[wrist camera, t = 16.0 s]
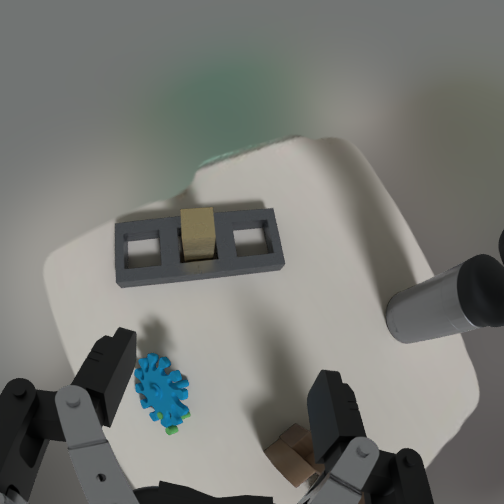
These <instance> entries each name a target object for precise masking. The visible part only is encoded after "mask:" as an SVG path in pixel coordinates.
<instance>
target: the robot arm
mask: <svg viewBox="0 0 504 504" xmlns="http://www.w3.org/2000/svg"><path fill="white" fill-rule="evenodd" d="M499 252H500V256H501V259H502V262H503V264H504V230H503V232H502V234H501V236H500V239H499ZM386 320H387V325H388V328H389V330H390V332H391V334H392V335H393V336H394V338H396V339H397V340H398V341H400V342H402V343H406V344H407V343H415V342H420V341H425V340H430V339H435V338H440V337H444V336H449V335H453V334H458V333H462V332H466V331H470V330H473V329H477V328H481V327H486V326H491V327H500V326H504V267H503V266H502V265H501V264H500V263H499V262H498V261H497V260H496V259H495V258H493V257H491V256H489V255H486V254H481V255H477V256H474V257H472V258H470V259H468V260H467V261H465V262H463V263H461V264H459V265H457V266H455V267H453V268H451V269H449V270H447V271H445V272H443V273H441V274H439V275H437V276H435V277H432V278H430V279H428V280H426V281H424V282H422V283H420V284H417V285H415V286H413V287H411V288H408V289H406V290H404V291H402V292H399V293H397V294H396V295H395V296H393V297H392V299H391V300H390V302H389V304H388V307H387V311H386ZM135 363H136V332H135V331H131V330H128V329H125V328H121V327H119V328H118V329H117V331H116V332H115V334H114V336H113V337H110V336H106V335H105V336H103V337H102V338H101V339H99V340H98V341H96V343H95V344H94V346H93V348H92V349H91V352H90V353H89V354H88V356H87V359H85V361H84V363H83V364H82V366H81V368H80V370H79V371H78V373H77V375H76V377H75V378H74V380H73V382H72V383H71V385H69V386H65V387H63V388H61V389H60V390H59V391H56V392H52V391H43V390H36V389H35V387H34V385H33V384H32V383H31V382H30V381H29V380H27V379H23V378H16V379H13V380H11V381H10V382H8V383H7V385H6V386H5V388H4V390H3V391H2V393H1V395H0V504H29V503H28V500H29V497H30V494H31V491H32V488H33V485H34V482H35V479H36V476H37V473H38V470H39V467H40V465H41V462H42V459H43V456H44V453H45V451H46V448H47V446H48V443H49V441H50V440H55V441H63V442H67V445H68V452H69V455H70V458H71V461H72V463H73V466H74V469H75V472H76V473H77V477H78V479H79V482H80V484H81V487H82V489H83V491H84V494H85V496H86V498H87V501H88V503H89V504H274V503H273V497H264V496H251V495H242V496H233V497H222V498H216V497H212V496H210V495H207V494H204V493H202V492H199V491H197V490H194V489H192V488H190V487H186V486H181V485H177V484H172V483H168V482H163V481H160V482H159V486H150V487H142V488H138V489H135V490H132V489H131V487H130V485H129V484H128V482H127V480H126V478H125V476H124V474H123V472H122V470H121V468H120V466H119V463H118V461H117V459H116V457H115V455H114V453H113V450H112V448H111V446H110V444H109V442H108V440H107V439H106V437H105V435H104V433H103V430H102V426H103V425H104V426H107V427H109V428H110V427H111V425H112V422H113V419H114V417H115V414H116V412H117V409H118V407H119V404H120V402H121V399H122V397H123V394H124V392H125V389H126V387H127V384H128V382H129V380H130V377H131V375H132V373H133V370H134V367H135ZM356 402H357V401H356V398H355V394H354V392H353V390H352V389H351V388H350V387H349V385H348V384H346V383H342V379H341V375H340V373H339V372H338V371H330V370H321V371H320V373H319V375H318V376H317V378H316V380H315V382H314V384H313V386H312V387H311V389H310V391H309V393H308V397H307V407H308V414H309V421H310V428H311V436H312V443H313V450H314V458H315V464H324V466H325V469H324V470H323V472H322V473H321V474H320V476H319V477H318V478H317V480H316V481H315V482H314V484H313V485H312V486H311V487H310V489H309V490H308V491H307V493H306V494H305V495H304V496H303V498H302V499H301V500H300V501H299V502H298V503H297V504H358V503H359V501H360V499H361V497H362V494H363V493H362V492H364V500H365V504H434V502H433V499H432V494H431V490H430V486H429V483H428V479H427V475H426V472H425V468H424V465H423V461H422V458H421V456H420V455H419V454H418V453H417V452H416V451H415V450H413V449H409V448H404V449H401V450H400V451H399V452H398V453H397V454H394V453H390V452H386V451H382V450H379V449H378V446H377V445H376V443H375V442H374V441H372V440H371V439H369V438H367V436H366V433H365V429H364V426H363V422H362V419H361V415H360V412H359V411H358V409H359V408H358V405H357V403H356Z"/></svg>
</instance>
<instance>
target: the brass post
mask: <svg viewBox="0 0 504 504" xmlns="http://www.w3.org/2000/svg"><path fill="white" fill-rule="evenodd" d="M180 211H181V231H182V243H183V251H184V258H185V263H188V262H198V261H207V260H213V254H214V246H215V238H216V235H215V226H214V216H213V207H207V208H192V209H180Z"/></svg>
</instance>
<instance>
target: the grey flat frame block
mask: <svg viewBox="0 0 504 504" xmlns="http://www.w3.org/2000/svg"><path fill="white" fill-rule="evenodd" d="M213 216H214V226H215V235H216V238H215V251H216V258H217V259H216V260H207V261H198V262H188V263H181V261H180V251H179V240H178V236H182V231H181V216H178V217H168V218H159V219H150V220H141V221H132V222H124V223H116V224H115V268H116V283H117V284H118V285H119V286H120V287H121V288H126V287H136V286H146V285H155V284H165V283H174V282H183V281H192V280H201V279H210V278H219V277H227V276H236V275H244V274H253V273H261V272H269V271H277V270H281V268H282V267H283V266H284V265H285V260H284V256H283V251H282V246H281V242H280V237H279V232H278V228H277V223H276V219H275V214H274V210H273V208H270V209H256V210H243V211H231V212H220V213H213ZM255 228H264V233H265V238H266V243H267V248H268V253H269V254H262V255H253V256H244V257H237V253H236V247H235V241H234V235H233V231H234V230H244V229H255ZM155 238H160V250H161V264H162V265H160V266H151V267H142V268H132V269H129V268H128V241H137V240H146V239H155Z"/></svg>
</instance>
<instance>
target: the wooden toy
mask: <svg viewBox="0 0 504 504" xmlns="http://www.w3.org/2000/svg"><path fill="white" fill-rule="evenodd" d="M264 453H265V455H266V456H267V457H268V459H269V460H270V461H271V463H272V464H273V465H274V466H275V467H276V469H277V470H278V471H279V472H280V473H281V474H282V475H283V476H284V477H285V478H286V479H287V480H288V481H289V482H290V483H291V484H292V485H293V486H294V487H296V488H297V487H298V486H299V485H300V484H302V483H303V482H304V481H305V480H307V479H308V478H309V477H310V476H311V475H313V474H314V473H315V472H316V473H317V474H318V475H319V476H320V474H321V473H322V472H323V470H324V469H325V466H324V464H315V458H314V450H313V443H312V436H311V432H310V431H308V430H307V429H305V428H303V427H301V426H300V425H298V424H294V425H293V426H291V427H290V428H289V429H288V430H287V431H286V432H284V433H283V434H282V435H281V436H280V439H278V440H277V441H276V442H275V443H274V444H272V445H271V446H270V447H269V448H267V449H266V450H265V451H264ZM362 493H363V494H362V497H361V499H360V501H359V503H358V504H365V500H364V492H362Z"/></svg>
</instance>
